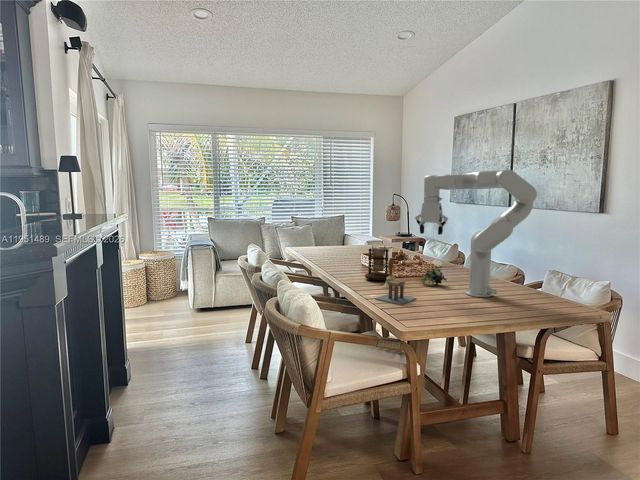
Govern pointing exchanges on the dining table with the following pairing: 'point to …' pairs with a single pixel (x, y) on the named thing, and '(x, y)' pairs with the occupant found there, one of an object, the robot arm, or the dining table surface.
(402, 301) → the slate mat
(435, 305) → the dining table surface
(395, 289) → the walnut stool
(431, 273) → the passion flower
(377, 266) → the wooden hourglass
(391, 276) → the hand bell
